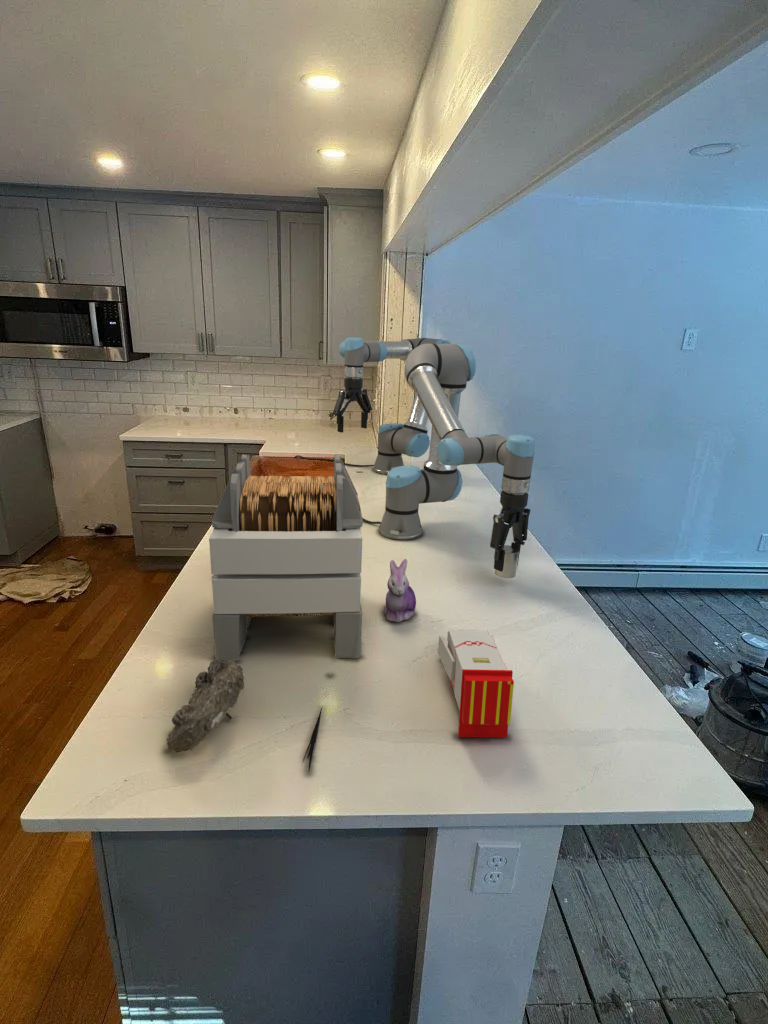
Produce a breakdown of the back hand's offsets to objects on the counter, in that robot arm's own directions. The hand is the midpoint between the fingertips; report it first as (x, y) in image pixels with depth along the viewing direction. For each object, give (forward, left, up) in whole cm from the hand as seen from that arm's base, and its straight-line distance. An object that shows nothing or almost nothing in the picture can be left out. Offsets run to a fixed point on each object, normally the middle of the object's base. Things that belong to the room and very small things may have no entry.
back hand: (352, 430), depth 235 cm
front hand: (+93, -27, -21) cm, 99 cm away
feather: (+99, -105, -26) cm, 147 cm away
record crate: (+67, -86, -26) cm, 113 cm away
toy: (+115, -77, -26) cm, 140 cm away
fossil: (+84, -119, -26) cm, 148 cm away
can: (+93, -27, -24) cm, 100 cm away
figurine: (+84, -63, -26) cm, 108 cm away
